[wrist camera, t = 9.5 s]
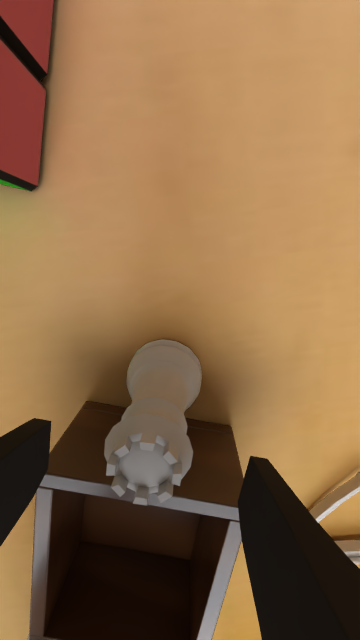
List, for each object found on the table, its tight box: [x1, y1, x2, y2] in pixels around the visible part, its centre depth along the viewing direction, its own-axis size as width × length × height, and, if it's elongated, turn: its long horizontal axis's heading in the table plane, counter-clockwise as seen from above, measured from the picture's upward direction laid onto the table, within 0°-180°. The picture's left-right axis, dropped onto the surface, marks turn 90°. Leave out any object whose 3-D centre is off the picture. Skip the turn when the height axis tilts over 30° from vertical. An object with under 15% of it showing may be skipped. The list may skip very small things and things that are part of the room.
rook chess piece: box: [104, 339, 202, 505], centre depth 13 cm, size 4×4×8 cm
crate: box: [29, 401, 244, 640], centre depth 16 cm, size 12×10×6 cm
